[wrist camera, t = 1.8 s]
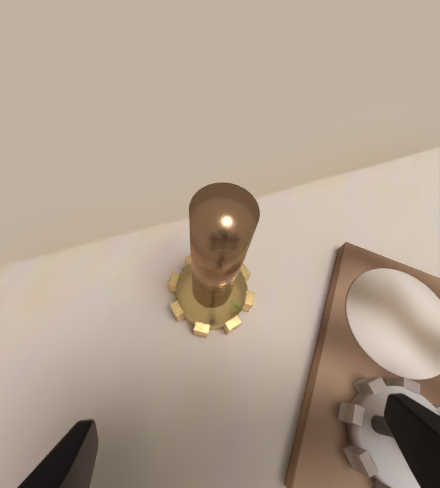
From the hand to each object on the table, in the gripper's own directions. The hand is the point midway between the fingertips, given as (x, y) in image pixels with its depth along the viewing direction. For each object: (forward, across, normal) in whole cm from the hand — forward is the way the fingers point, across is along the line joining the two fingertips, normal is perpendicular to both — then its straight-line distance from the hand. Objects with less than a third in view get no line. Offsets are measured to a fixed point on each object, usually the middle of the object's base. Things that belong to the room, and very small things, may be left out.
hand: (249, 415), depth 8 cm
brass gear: (+15, 0, +4) cm, 15 cm away
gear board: (+10, -14, +9) cm, 19 cm away
